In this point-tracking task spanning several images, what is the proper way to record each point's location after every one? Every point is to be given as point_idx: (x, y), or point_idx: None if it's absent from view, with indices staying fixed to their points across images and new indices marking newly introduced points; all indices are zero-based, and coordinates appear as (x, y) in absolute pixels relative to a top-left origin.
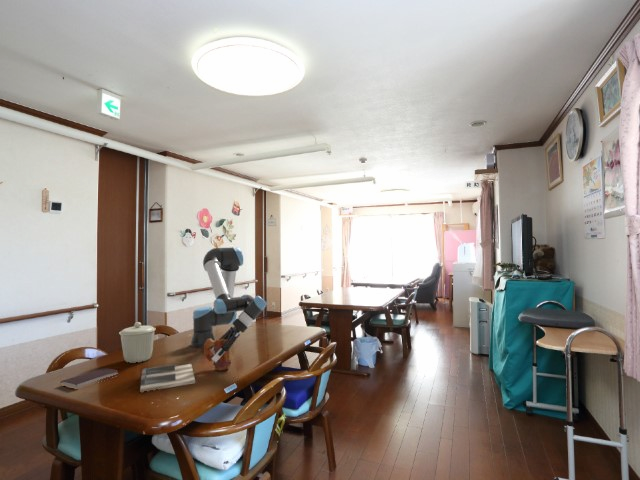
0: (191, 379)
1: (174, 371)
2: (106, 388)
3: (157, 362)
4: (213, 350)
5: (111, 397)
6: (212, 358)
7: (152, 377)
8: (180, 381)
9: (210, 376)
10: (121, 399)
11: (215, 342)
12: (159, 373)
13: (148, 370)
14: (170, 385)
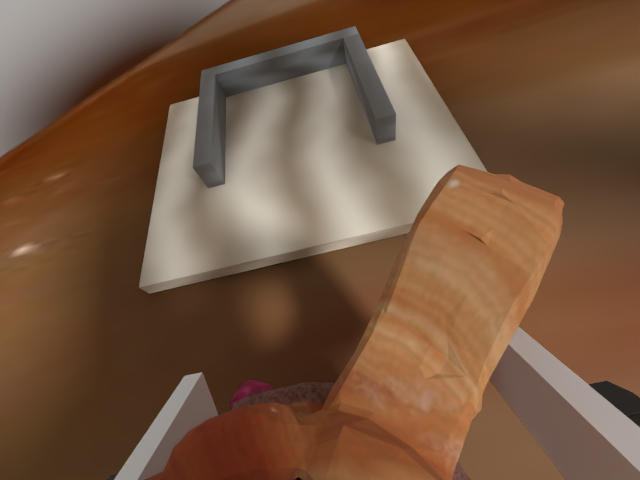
0: (166, 264)
1: (353, 149)
2: (275, 25)
3: (594, 34)
4: (516, 375)
5: (186, 64)
6: (179, 385)
7: (207, 94)
8: (170, 215)
9: (214, 383)
10: (152, 90)
11: (197, 426)
12: (344, 99)
13: (345, 49)
14: (159, 186)
